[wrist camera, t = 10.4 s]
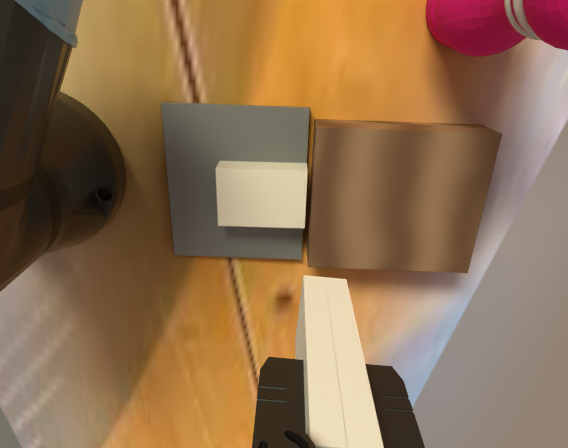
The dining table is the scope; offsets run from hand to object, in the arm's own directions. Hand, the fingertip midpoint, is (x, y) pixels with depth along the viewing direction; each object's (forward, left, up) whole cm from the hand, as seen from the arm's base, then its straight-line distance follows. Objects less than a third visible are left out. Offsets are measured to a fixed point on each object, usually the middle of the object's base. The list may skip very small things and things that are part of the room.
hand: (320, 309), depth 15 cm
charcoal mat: (0, -7, -26) cm, 26 cm away
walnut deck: (+8, +5, -26) cm, 27 cm away
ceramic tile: (+2, -5, -25) cm, 25 cm away
